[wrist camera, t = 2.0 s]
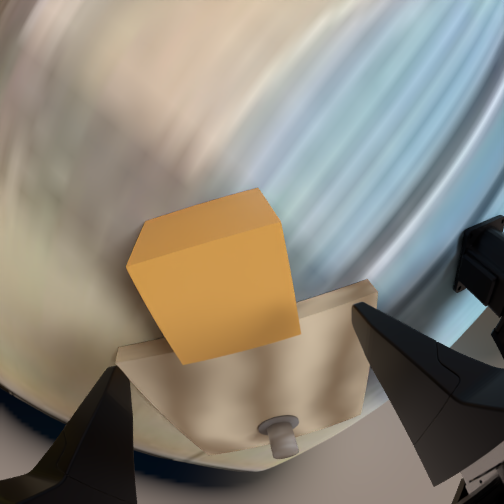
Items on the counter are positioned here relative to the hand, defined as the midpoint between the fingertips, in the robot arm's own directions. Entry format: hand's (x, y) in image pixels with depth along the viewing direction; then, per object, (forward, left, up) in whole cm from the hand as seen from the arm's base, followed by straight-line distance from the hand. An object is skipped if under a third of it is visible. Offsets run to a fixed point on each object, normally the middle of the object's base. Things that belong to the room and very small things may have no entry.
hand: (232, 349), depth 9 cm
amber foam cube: (0, 0, -7) cm, 7 cm away
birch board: (0, +14, -7) cm, 16 cm away
